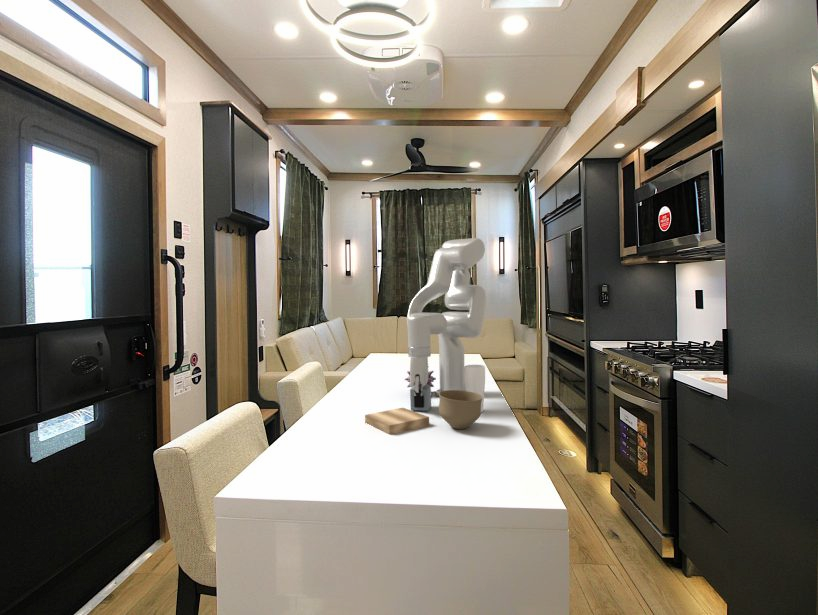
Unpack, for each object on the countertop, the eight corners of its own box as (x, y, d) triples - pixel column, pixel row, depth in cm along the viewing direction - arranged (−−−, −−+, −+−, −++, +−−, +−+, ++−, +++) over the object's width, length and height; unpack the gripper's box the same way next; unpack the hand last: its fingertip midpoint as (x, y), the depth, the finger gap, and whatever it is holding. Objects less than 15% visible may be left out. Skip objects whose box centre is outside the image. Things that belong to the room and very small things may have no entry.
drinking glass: (484, 408, 154) (484, 364, 154) (486, 414, 148) (485, 368, 147) (464, 408, 155) (464, 364, 154) (465, 414, 148) (464, 368, 148)
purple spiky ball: (405, 391, 183) (404, 361, 182) (435, 390, 182) (434, 360, 182) (404, 398, 171) (404, 366, 171) (437, 397, 171) (436, 366, 170)
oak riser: (403, 416, 149) (402, 407, 149) (429, 426, 137) (429, 416, 137) (365, 424, 141) (365, 414, 141) (389, 436, 129) (389, 425, 129)
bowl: (481, 435, 127) (481, 399, 127) (436, 433, 130) (435, 398, 129) (483, 421, 140) (483, 389, 139) (442, 420, 142) (441, 388, 142)
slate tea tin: (414, 405, 159) (413, 385, 158) (431, 405, 158) (430, 385, 157) (410, 410, 153) (410, 389, 153) (428, 410, 152) (427, 389, 151)
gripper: (413, 347, 163) (414, 397, 164) (403, 356, 146) (404, 411, 148) (434, 347, 162) (435, 398, 163) (426, 356, 145) (428, 412, 146)
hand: (420, 404), depth 155 cm, fingers closed on slate tea tin, 6 cm apart
